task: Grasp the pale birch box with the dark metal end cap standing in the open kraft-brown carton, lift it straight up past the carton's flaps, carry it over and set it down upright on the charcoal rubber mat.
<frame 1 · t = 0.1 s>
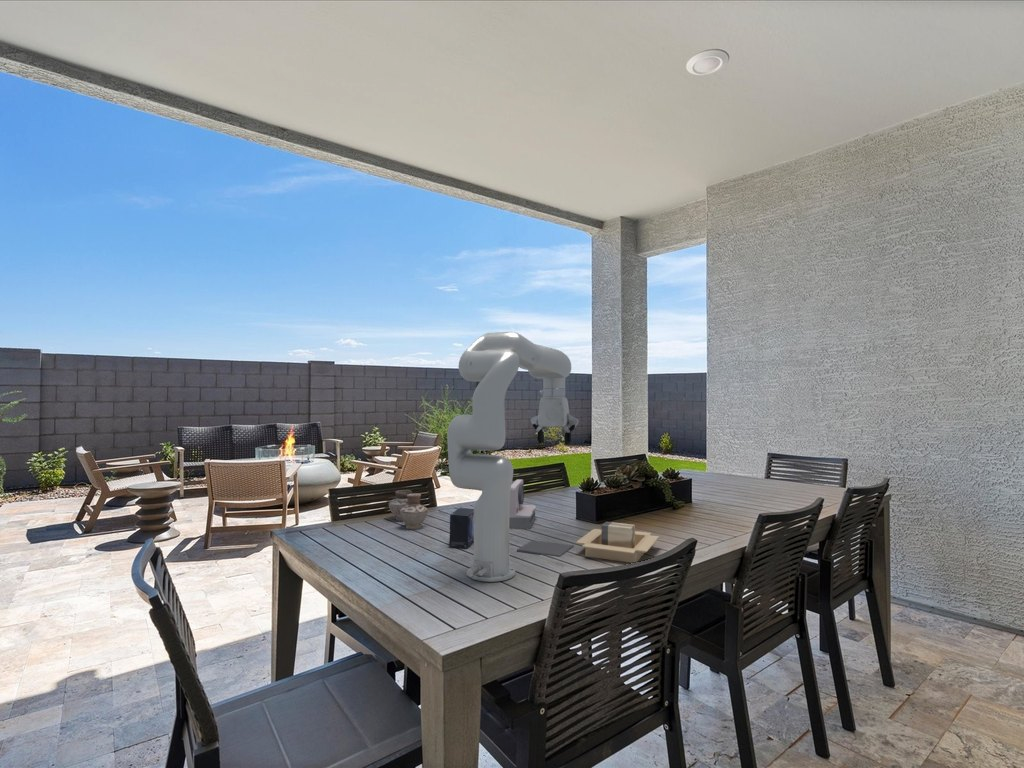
hand: (554, 443, 184), 31 cm above the table, fingers open, 9 cm apart
grey l-shaped block: (509, 523, 202), on the table
pottery: (408, 523, 200), on the table
small box: (463, 544, 172), on the table
mat: (545, 549, 166), on the table
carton: (618, 552, 163), on the table
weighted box: (618, 551, 163), resting on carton
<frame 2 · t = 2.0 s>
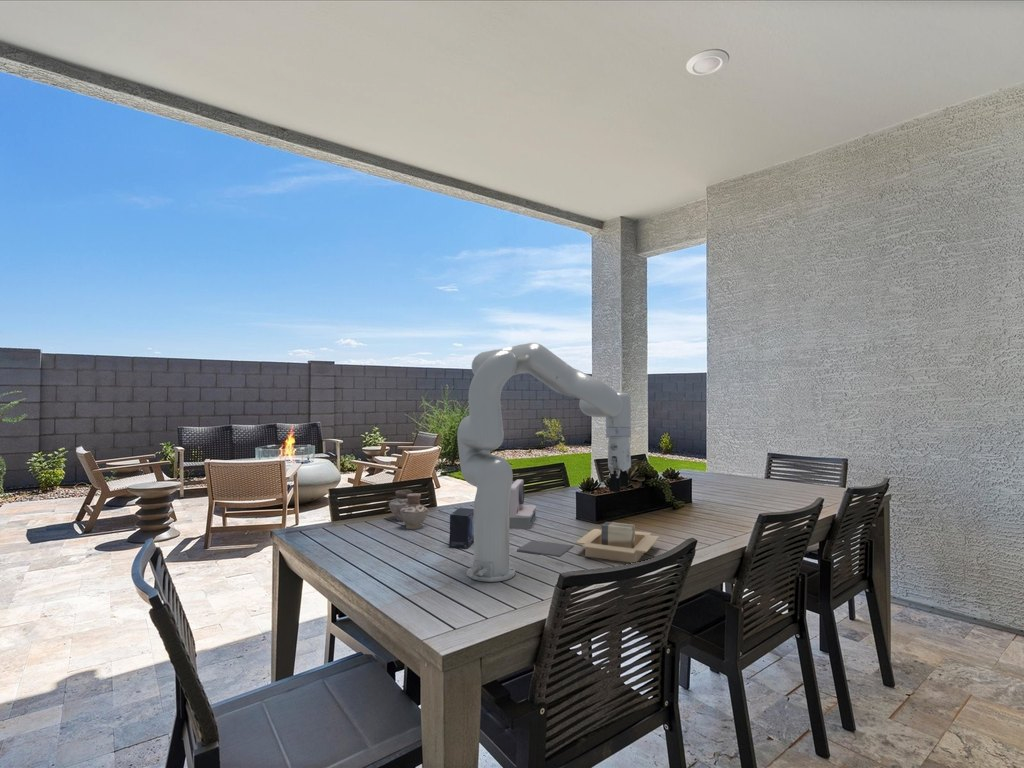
hand: (619, 488, 164), 19 cm above the table, fingers open, 9 cm apart
nothing on the table moved.
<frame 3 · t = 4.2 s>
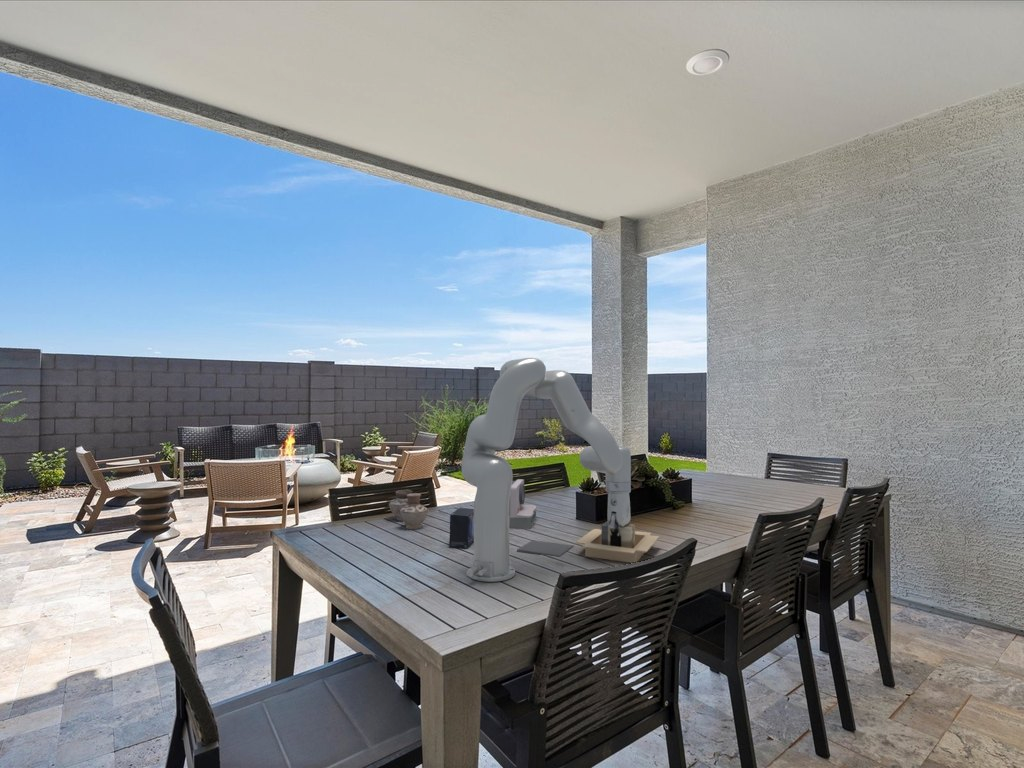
hand: (618, 545, 163), 2 cm above the table, fingers closed on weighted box, 5 cm apart
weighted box: (618, 551, 163), resting on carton, touching gripper
everything else where it was.
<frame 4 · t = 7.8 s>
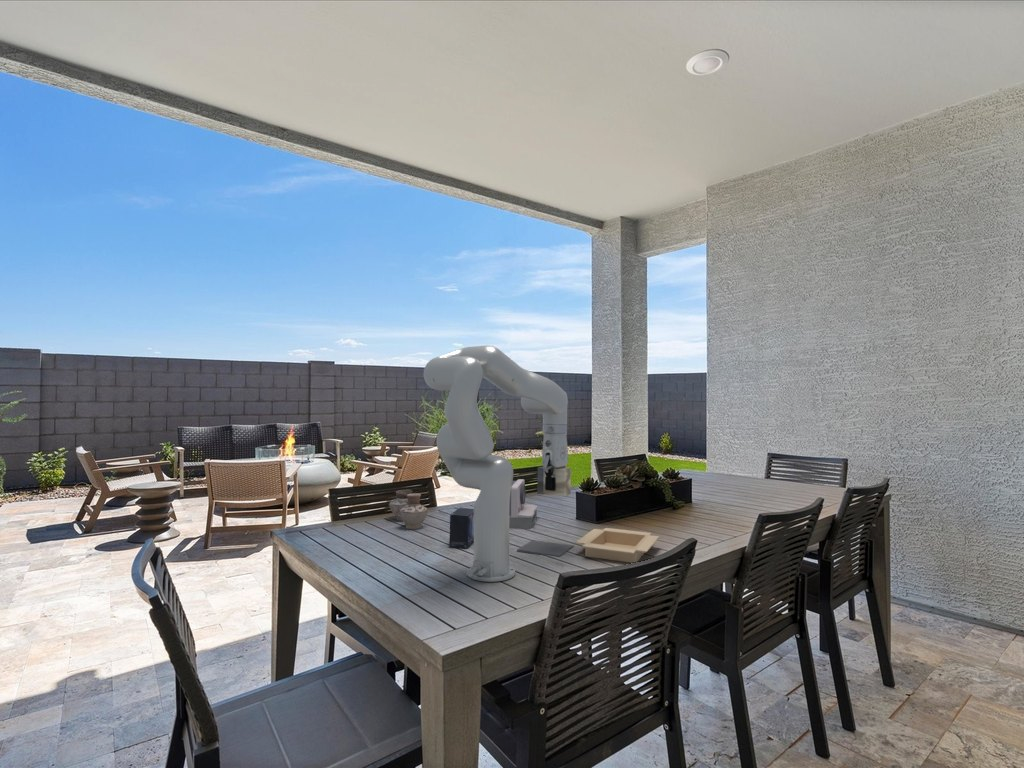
hand: (554, 488, 166), 19 cm above the table, fingers closed on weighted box, 5 cm apart
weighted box: (554, 493, 166), point 17 cm above the table, touching gripper
everything else where it was.
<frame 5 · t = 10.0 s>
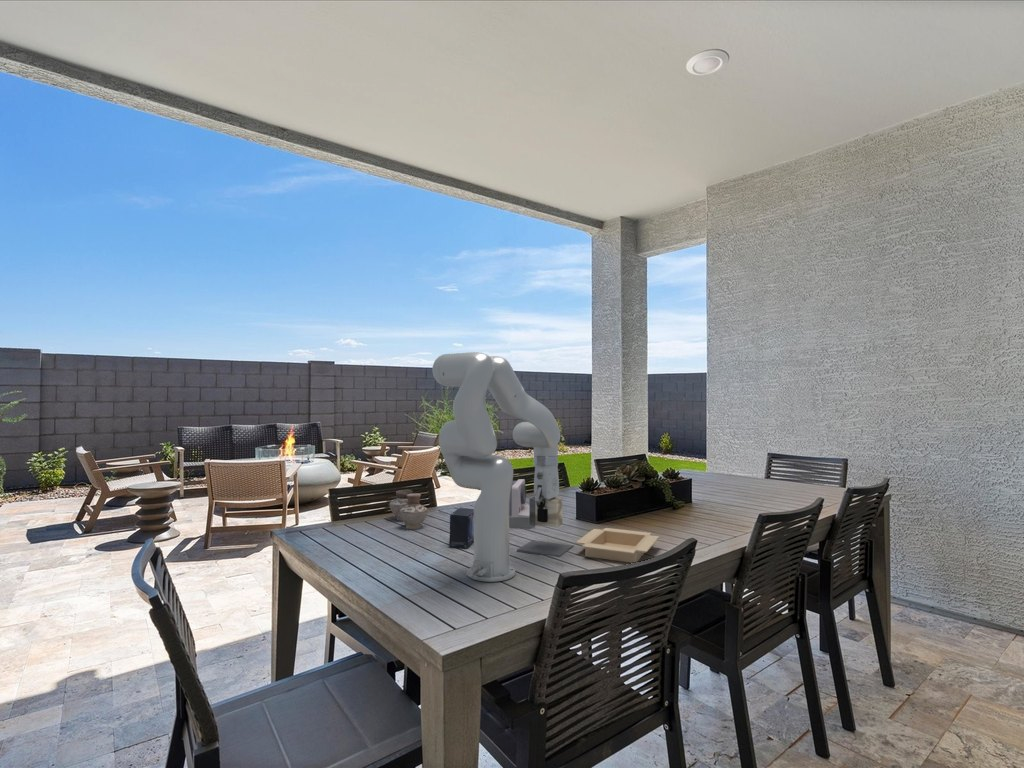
hand: (546, 519, 167), 9 cm above the table, fingers closed on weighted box, 5 cm apart
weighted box: (546, 524, 167), point 8 cm above the table, touching gripper
when the fingers open (4 cm above the table, at t = 11.9 s): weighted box drops 2 cm, resting on mat.
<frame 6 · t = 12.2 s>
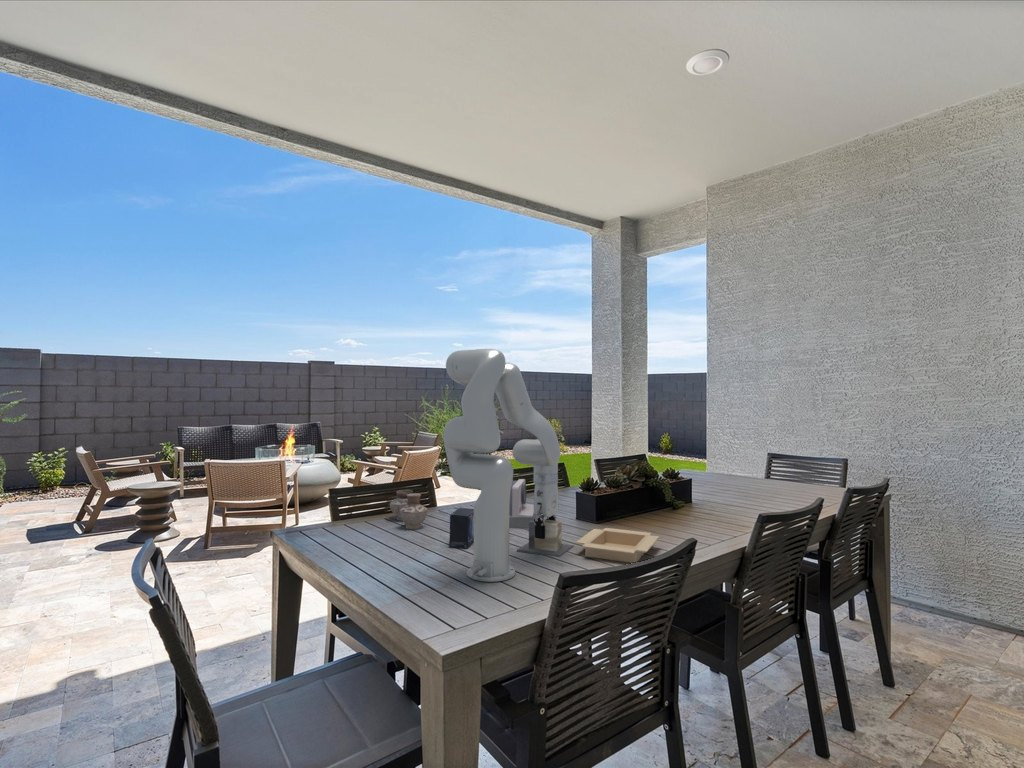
hand: (545, 534, 166), 5 cm above the table, fingers open, 8 cm apart
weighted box: (545, 547, 166), point 1 cm above the table, touching mat
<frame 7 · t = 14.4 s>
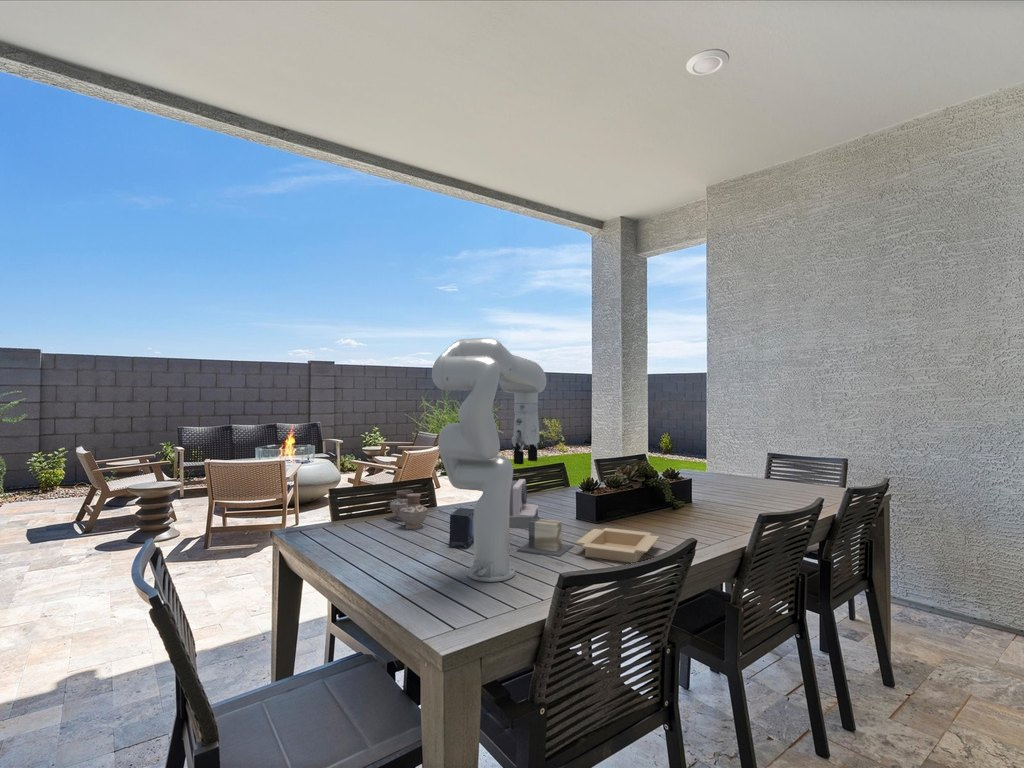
hand: (525, 462, 172), 26 cm above the table, fingers open, 9 cm apart
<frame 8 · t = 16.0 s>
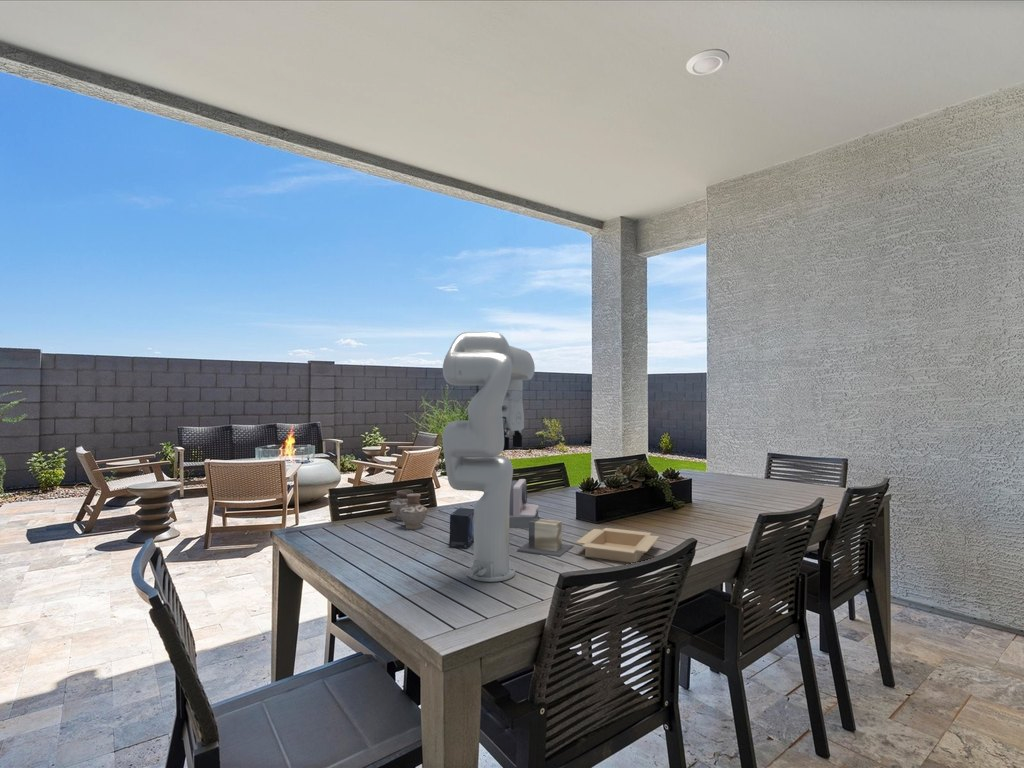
hand: (511, 448, 177), 30 cm above the table, fingers open, 9 cm apart
at the end: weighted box inside the target area on the mat (0.1 cm from its centre), point 0.6 cm above the mat's base; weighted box tilted 0°; the gripper is holding nothing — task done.
